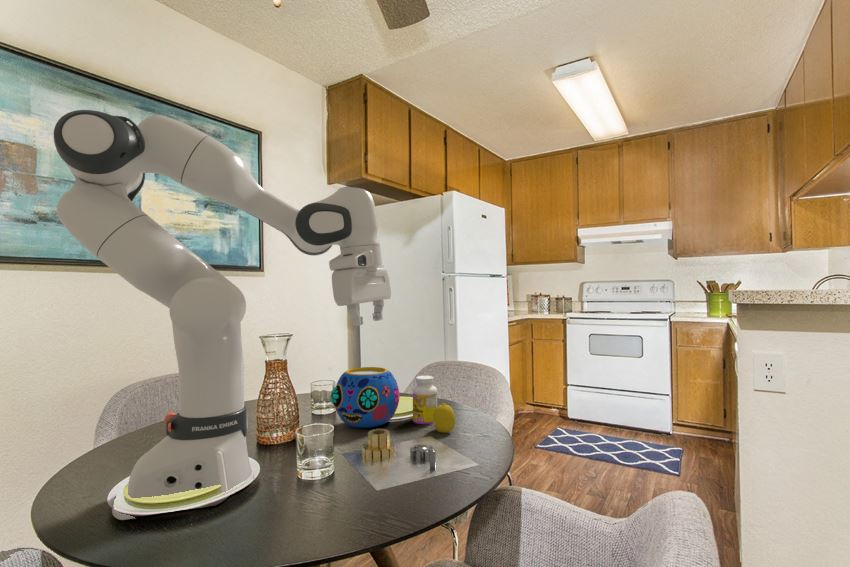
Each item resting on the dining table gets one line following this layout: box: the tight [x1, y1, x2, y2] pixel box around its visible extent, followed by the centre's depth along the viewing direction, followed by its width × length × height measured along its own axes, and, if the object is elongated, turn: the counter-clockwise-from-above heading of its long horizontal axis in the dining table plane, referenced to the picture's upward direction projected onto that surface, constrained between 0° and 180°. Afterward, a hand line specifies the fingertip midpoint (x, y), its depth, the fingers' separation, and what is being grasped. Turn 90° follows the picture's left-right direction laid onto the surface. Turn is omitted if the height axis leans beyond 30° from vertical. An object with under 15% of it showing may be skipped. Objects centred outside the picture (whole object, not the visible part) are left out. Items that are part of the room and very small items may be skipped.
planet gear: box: [361, 428, 396, 460], centre depth 93 cm, size 7×7×5 cm
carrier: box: [341, 436, 480, 492], centre depth 90 cm, size 22×20×5 cm
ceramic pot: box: [330, 366, 400, 429], centre depth 116 cm, size 18×18×15 cm
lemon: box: [433, 402, 456, 434], centre depth 108 cm, size 6×6×8 cm
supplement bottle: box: [412, 375, 438, 426], centre depth 117 cm, size 7×7×13 cm
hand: (368, 322), depth 96 cm, fingers open, 8 cm apart
